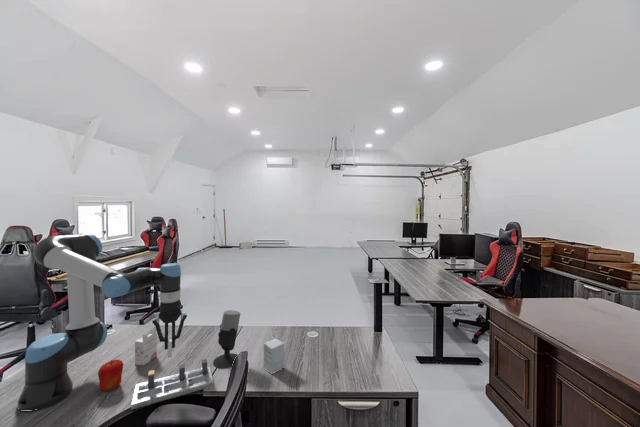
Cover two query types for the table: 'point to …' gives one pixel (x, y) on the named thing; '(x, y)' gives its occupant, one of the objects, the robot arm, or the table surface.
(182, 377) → the breaker mid
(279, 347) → the supplement box
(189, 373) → the breaker panel
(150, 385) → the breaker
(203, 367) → the breaker right
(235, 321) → the microphone
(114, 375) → the apple
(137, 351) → the ink cartridge box
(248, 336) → the table surface
